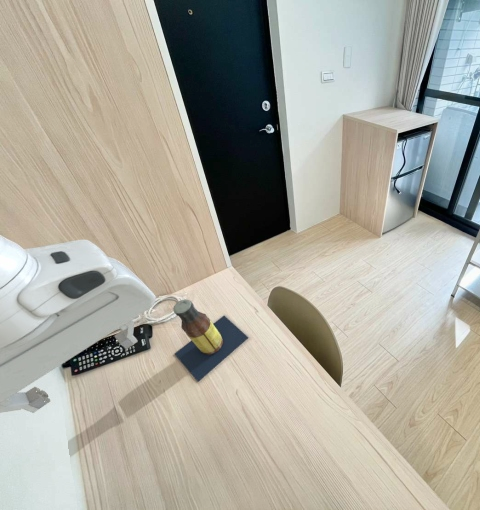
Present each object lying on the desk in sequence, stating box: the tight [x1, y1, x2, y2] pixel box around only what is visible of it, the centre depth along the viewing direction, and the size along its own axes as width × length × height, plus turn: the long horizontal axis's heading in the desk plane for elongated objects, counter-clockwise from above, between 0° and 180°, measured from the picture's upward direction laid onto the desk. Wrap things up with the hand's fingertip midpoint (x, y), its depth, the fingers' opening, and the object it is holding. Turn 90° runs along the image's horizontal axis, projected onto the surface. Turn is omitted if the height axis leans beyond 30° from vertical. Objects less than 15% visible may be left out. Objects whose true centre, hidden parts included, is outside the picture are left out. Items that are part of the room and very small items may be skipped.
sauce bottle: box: [172, 298, 223, 354], centre depth 70 cm, size 6×6×20 cm
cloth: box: [174, 315, 249, 383], centre depth 77 cm, size 16×12×1 cm
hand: (89, 370), depth 33 cm, fingers open, 8 cm apart
